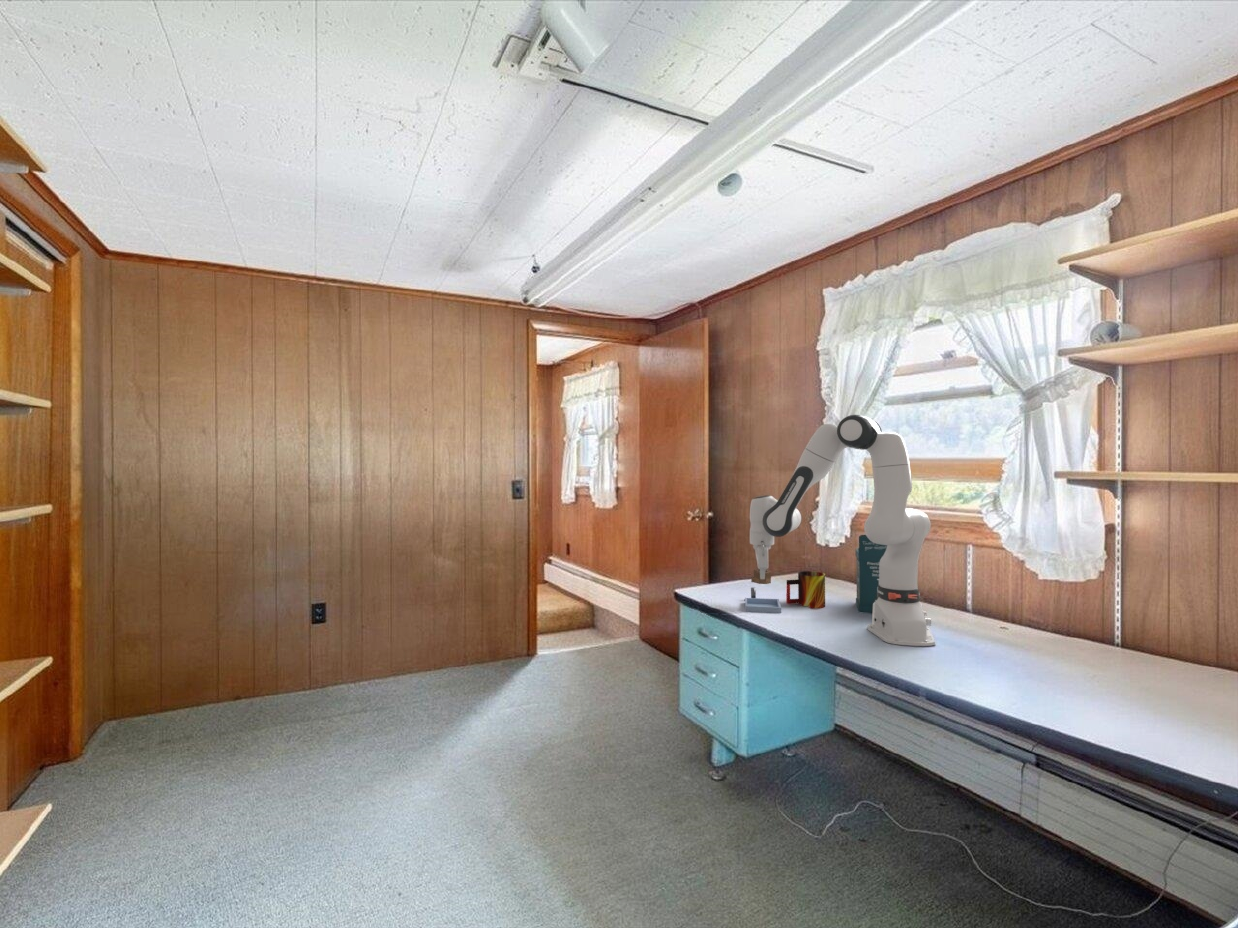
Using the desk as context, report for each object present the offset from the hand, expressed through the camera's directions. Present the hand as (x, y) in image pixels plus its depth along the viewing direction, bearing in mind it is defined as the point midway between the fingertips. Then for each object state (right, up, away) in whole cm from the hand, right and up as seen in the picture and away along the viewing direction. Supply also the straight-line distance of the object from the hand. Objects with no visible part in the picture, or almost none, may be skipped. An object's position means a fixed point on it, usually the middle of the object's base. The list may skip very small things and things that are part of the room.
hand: (762, 576), depth 213 cm
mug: (+18, -12, +4) cm, 22 cm away
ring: (0, -2, 0) cm, 2 cm away
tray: (0, -12, 0) cm, 12 cm away
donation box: (+44, -12, 0) cm, 45 cm away
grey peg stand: (-1, -12, +11) cm, 16 cm away
